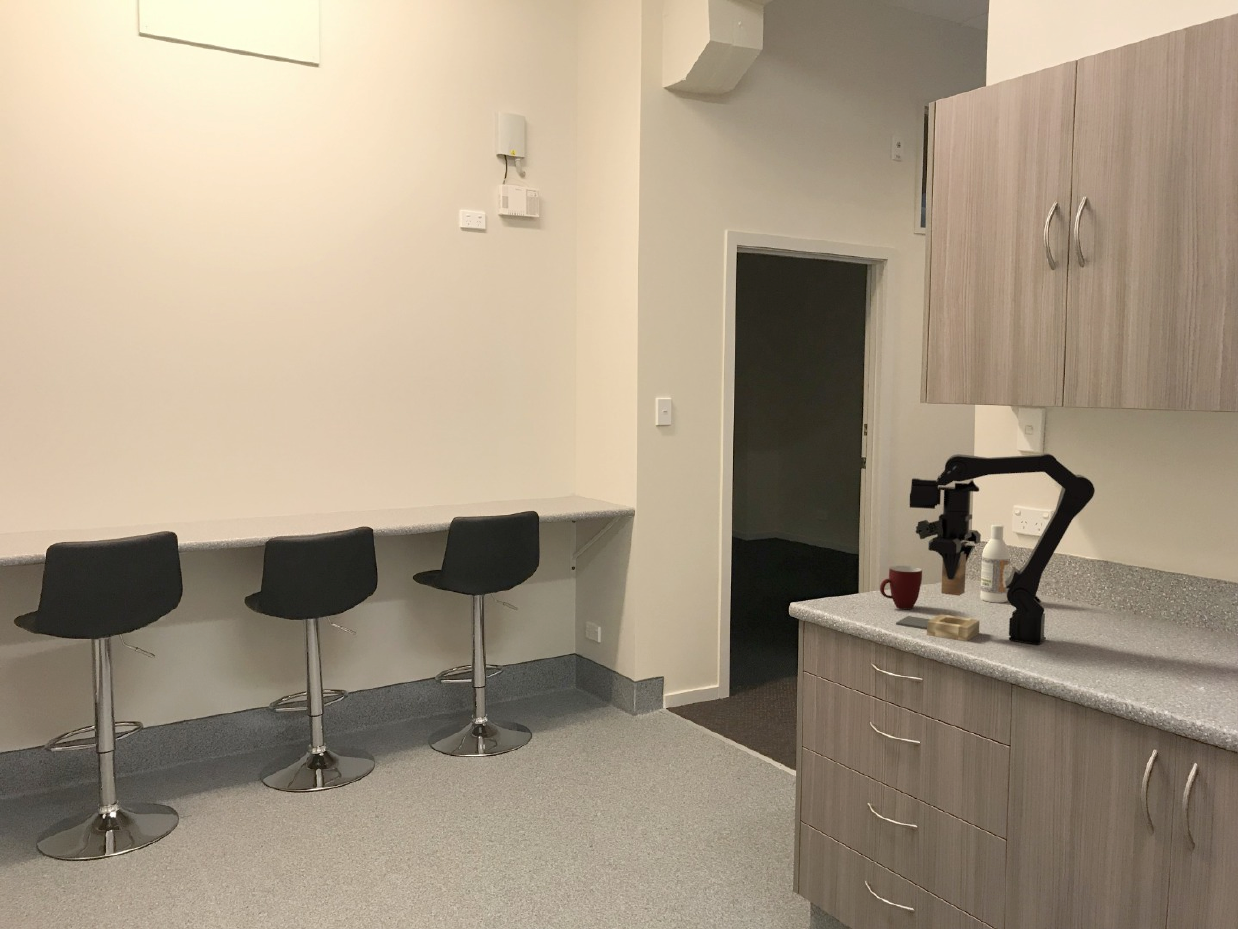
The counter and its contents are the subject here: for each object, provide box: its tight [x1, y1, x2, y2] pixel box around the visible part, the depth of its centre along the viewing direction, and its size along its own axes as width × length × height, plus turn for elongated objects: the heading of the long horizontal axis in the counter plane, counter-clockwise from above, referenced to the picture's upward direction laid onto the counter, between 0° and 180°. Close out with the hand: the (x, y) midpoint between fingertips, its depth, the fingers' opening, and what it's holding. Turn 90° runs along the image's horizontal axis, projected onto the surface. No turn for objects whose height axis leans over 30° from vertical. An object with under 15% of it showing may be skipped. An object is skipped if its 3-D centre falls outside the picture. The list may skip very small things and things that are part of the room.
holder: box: [926, 614, 980, 642], centre depth 225 cm, size 9×9×3 cm
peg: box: [940, 554, 967, 597], centre depth 224 cm, size 4×4×9 cm
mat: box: [895, 615, 931, 630], centre depth 234 cm, size 8×8×1 cm
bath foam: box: [979, 524, 1011, 604], centre depth 258 cm, size 7×7×20 cm
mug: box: [879, 565, 923, 610], centre depth 250 cm, size 11×8×10 cm
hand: (953, 577), depth 224 cm, fingers closed on peg, 4 cm apart
